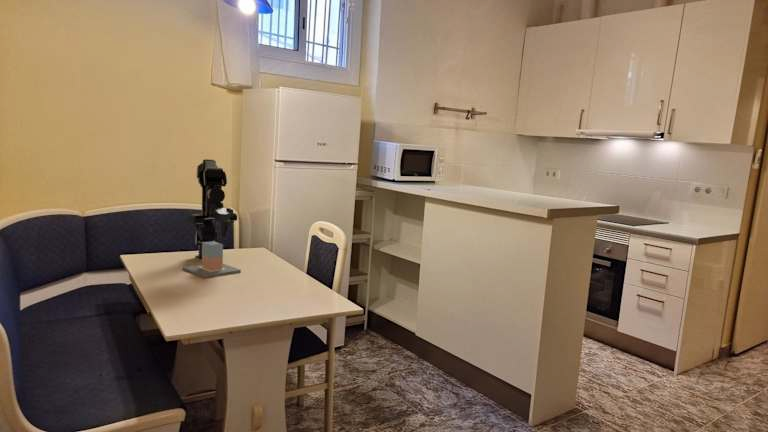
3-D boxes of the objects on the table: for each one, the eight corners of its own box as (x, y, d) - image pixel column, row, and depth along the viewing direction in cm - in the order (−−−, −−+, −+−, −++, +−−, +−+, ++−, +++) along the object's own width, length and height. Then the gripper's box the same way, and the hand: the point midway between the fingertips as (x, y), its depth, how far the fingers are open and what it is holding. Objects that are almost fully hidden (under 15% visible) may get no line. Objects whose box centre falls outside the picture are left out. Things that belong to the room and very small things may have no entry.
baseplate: (182, 269, 203) (182, 266, 203) (218, 264, 215) (218, 261, 215) (204, 278, 193) (204, 275, 193) (240, 272, 205) (240, 269, 205)
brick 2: (201, 266, 204) (202, 254, 203) (213, 265, 208) (213, 253, 207) (211, 270, 200) (211, 258, 199) (222, 268, 203) (222, 256, 203)
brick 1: (201, 254, 203) (202, 242, 203) (213, 253, 207) (213, 241, 207) (211, 258, 199) (211, 245, 198) (222, 256, 203) (223, 244, 202)
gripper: (202, 203, 188) (201, 244, 190) (245, 201, 202) (244, 240, 204) (187, 199, 195) (186, 239, 197) (230, 198, 209) (229, 235, 211)
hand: (212, 238), depth 202 cm, fingers open, 9 cm apart
